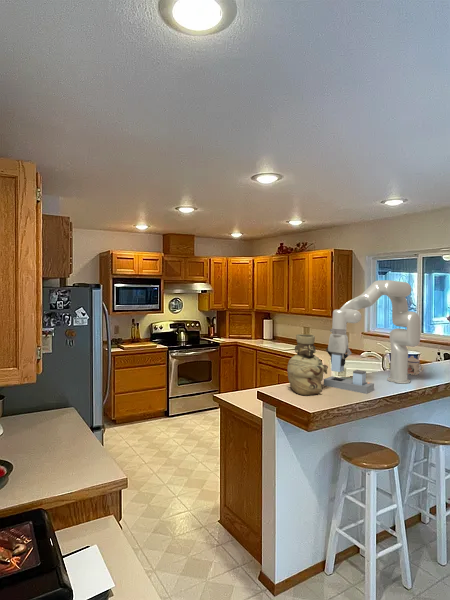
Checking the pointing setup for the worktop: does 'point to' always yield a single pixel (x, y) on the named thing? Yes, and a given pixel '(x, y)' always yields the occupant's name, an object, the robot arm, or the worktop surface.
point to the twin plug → (359, 377)
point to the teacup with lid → (413, 366)
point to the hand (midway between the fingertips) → (337, 364)
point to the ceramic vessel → (306, 367)
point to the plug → (336, 362)
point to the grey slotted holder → (348, 385)
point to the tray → (347, 378)
